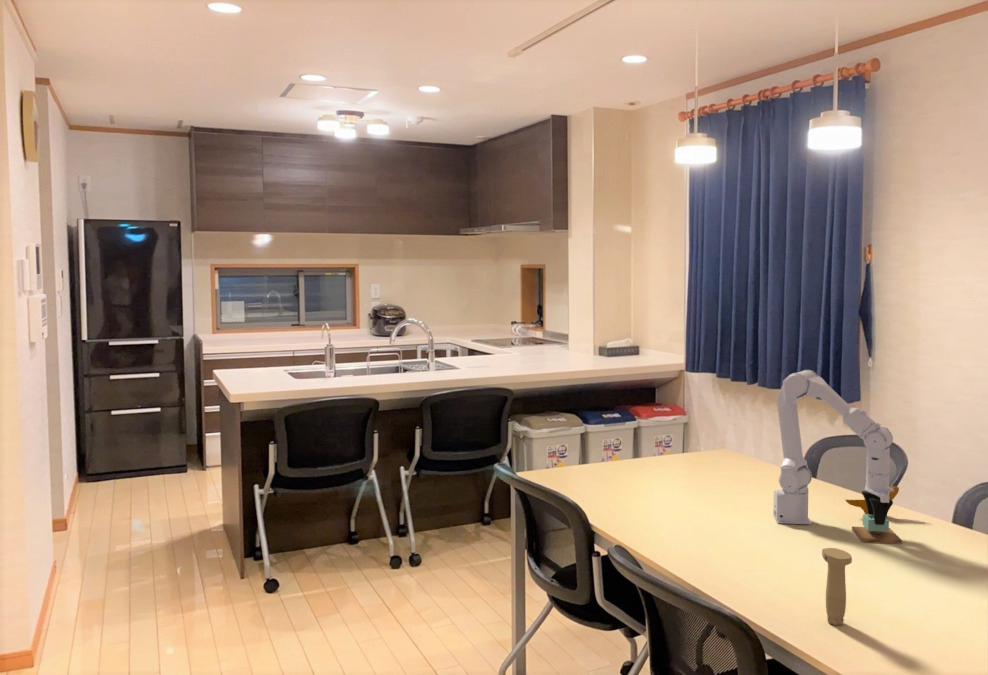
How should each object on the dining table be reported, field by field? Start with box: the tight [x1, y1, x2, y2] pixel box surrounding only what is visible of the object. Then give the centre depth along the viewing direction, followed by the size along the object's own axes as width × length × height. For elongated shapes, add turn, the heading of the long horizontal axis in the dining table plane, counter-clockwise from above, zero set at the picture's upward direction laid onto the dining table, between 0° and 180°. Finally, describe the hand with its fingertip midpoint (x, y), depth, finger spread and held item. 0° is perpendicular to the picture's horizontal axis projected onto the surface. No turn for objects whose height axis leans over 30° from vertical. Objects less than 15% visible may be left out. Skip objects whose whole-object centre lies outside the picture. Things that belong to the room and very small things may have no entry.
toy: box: [844, 485, 900, 514], centre depth 238 cm, size 3×16×10 cm, turn 89°
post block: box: [851, 518, 903, 544], centre depth 220 cm, size 10×10×5 cm
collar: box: [862, 513, 890, 532], centre depth 220 cm, size 5×5×3 cm
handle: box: [821, 547, 853, 626], centre depth 167 cm, size 5×6×15 cm
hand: (876, 521), depth 220 cm, fingers closed on collar, 5 cm apart
